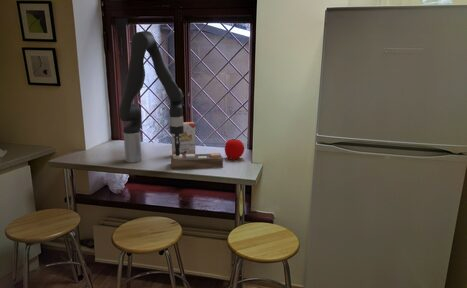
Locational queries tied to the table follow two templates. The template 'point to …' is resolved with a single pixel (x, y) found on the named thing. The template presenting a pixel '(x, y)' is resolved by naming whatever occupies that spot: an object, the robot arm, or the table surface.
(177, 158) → the ivory key
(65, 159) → the table surface
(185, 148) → the cracker box
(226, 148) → the red apple
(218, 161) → the brown long block
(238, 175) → the table surface
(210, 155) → the terracotta key
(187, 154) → the grey key
